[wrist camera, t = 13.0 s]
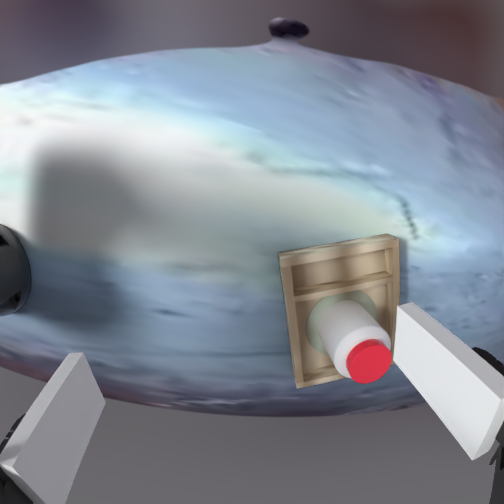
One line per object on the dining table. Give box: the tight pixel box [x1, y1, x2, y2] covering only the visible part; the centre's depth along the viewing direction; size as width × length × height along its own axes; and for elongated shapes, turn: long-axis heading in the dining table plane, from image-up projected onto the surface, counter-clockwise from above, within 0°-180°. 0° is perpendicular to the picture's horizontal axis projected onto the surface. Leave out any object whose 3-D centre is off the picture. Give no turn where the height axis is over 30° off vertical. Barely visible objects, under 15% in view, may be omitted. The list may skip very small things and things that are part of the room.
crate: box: [278, 234, 400, 388], centre depth 43 cm, size 16×20×4 cm
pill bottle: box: [318, 300, 392, 383], centre depth 39 cm, size 8×8×11 cm
